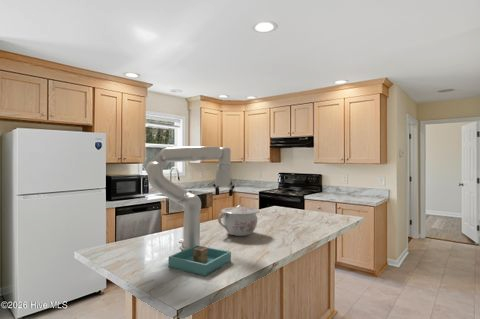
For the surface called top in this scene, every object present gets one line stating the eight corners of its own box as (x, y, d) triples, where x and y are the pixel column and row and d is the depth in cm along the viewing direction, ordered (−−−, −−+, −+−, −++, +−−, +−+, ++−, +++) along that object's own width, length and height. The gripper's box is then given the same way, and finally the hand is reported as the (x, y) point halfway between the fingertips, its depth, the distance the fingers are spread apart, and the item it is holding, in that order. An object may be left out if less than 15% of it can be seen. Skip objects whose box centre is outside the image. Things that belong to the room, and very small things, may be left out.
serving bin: (168, 267, 139) (168, 256, 139) (196, 254, 158) (196, 245, 158) (205, 276, 128) (205, 265, 128) (230, 261, 148) (230, 251, 148)
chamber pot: (260, 230, 216) (260, 202, 216) (258, 240, 188) (259, 208, 188) (223, 228, 218) (223, 201, 218) (216, 238, 191) (217, 207, 191)
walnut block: (193, 263, 142) (193, 249, 142) (199, 260, 147) (199, 246, 147) (201, 265, 140) (201, 250, 140) (207, 261, 144) (207, 247, 144)
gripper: (209, 167, 178) (208, 195, 178) (233, 168, 170) (233, 197, 169) (216, 167, 184) (215, 193, 184) (239, 167, 176) (239, 195, 176)
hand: (223, 195), depth 177 cm, fingers open, 9 cm apart
